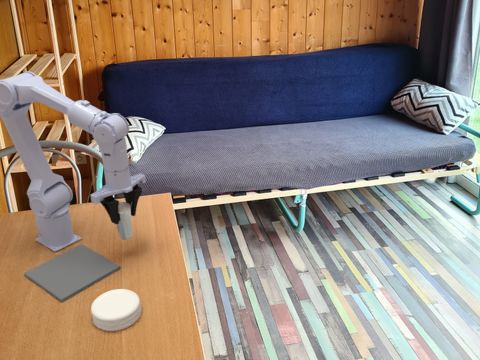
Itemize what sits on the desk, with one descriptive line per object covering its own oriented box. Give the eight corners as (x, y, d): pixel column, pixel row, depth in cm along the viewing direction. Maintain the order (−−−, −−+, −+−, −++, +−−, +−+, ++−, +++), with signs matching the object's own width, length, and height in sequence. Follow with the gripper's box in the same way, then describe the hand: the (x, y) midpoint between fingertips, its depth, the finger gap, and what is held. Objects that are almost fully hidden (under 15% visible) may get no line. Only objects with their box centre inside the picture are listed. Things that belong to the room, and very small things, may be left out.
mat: (24, 275, 120) (23, 272, 120) (82, 246, 131) (81, 244, 131) (61, 302, 111) (61, 299, 110) (120, 268, 121) (120, 266, 121)
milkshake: (135, 242, 122) (128, 206, 118) (114, 241, 123) (107, 205, 119) (141, 232, 126) (135, 196, 122) (121, 231, 127) (114, 196, 123)
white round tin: (121, 294, 113) (119, 282, 111) (151, 313, 107) (149, 299, 105) (83, 318, 106) (80, 305, 104) (113, 339, 100) (110, 325, 98)
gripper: (100, 182, 109) (109, 236, 115) (151, 161, 119) (157, 211, 125) (81, 174, 114) (90, 226, 119) (132, 154, 124) (138, 203, 129)
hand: (123, 218), depth 123 cm, fingers closed on milkshake, 4 cm apart
